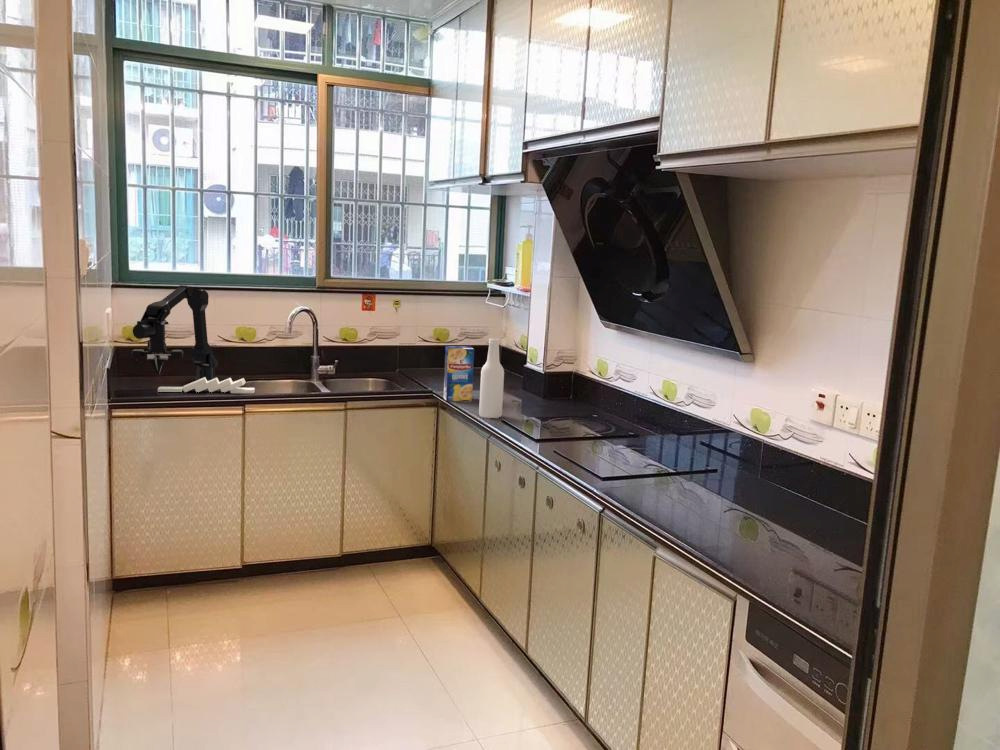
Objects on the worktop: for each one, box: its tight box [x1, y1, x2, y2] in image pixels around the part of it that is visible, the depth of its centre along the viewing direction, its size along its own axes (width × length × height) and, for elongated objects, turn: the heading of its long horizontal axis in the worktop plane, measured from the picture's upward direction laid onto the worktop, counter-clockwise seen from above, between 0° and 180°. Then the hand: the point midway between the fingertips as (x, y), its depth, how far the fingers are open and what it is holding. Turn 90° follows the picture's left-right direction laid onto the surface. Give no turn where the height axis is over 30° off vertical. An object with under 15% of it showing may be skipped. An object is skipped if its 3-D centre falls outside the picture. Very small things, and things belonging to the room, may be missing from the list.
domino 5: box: [220, 377, 247, 393], centre depth 330 cm, size 2×5×9 cm
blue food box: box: [442, 345, 475, 402], centre depth 339 cm, size 7×11×22 cm, turn 104°
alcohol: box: [478, 337, 505, 419], centre depth 309 cm, size 9×9×30 cm
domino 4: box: [207, 377, 234, 393], centre depth 329 cm, size 2×5×9 cm
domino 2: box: [182, 377, 207, 393], centre depth 327 cm, size 2×5×9 cm
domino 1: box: [157, 386, 184, 393], centre depth 325 cm, size 2×5×9 cm
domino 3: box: [194, 377, 220, 393], centre depth 328 cm, size 2×5×9 cm
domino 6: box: [230, 387, 256, 394], centre depth 332 cm, size 2×5×9 cm
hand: (157, 375), depth 323 cm, fingers closed
